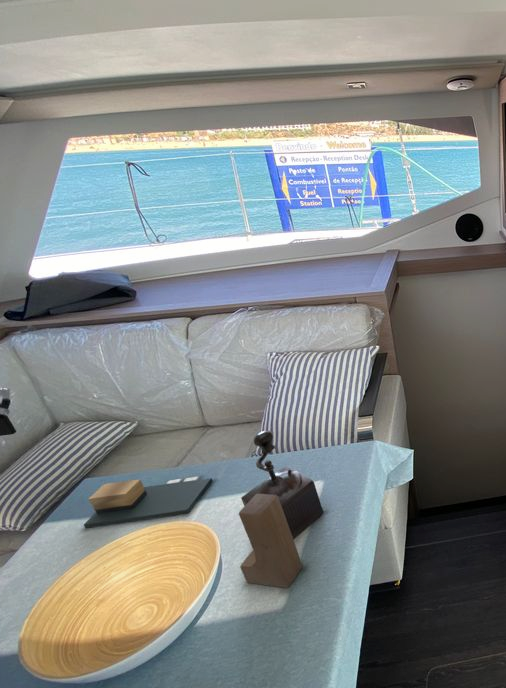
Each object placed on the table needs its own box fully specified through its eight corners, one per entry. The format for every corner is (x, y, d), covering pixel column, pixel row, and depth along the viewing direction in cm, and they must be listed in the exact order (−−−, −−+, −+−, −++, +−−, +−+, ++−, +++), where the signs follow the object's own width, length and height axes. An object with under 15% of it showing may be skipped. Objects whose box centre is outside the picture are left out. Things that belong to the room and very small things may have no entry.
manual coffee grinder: (327, 510, 92) (308, 444, 86) (280, 550, 83) (254, 481, 77) (286, 486, 100) (265, 425, 94) (239, 521, 91) (213, 455, 85)
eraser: (96, 513, 95) (88, 498, 93) (112, 498, 99) (104, 484, 98) (133, 508, 96) (125, 493, 94) (147, 493, 100) (140, 479, 98)
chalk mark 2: (186, 478, 105) (186, 480, 105) (183, 481, 104) (183, 483, 104) (198, 476, 105) (199, 478, 105) (195, 479, 104) (196, 481, 104)
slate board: (85, 528, 93) (83, 524, 92) (119, 493, 102) (117, 490, 102) (188, 513, 94) (186, 509, 94) (213, 480, 104) (211, 477, 103)
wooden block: (246, 583, 77) (214, 510, 71) (263, 561, 81) (235, 490, 75) (288, 589, 76) (259, 515, 69) (303, 566, 80) (278, 494, 73)
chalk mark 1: (168, 480, 104) (169, 482, 105) (165, 483, 103) (166, 485, 103) (181, 478, 105) (182, 480, 105) (178, 482, 103) (179, 484, 104)
